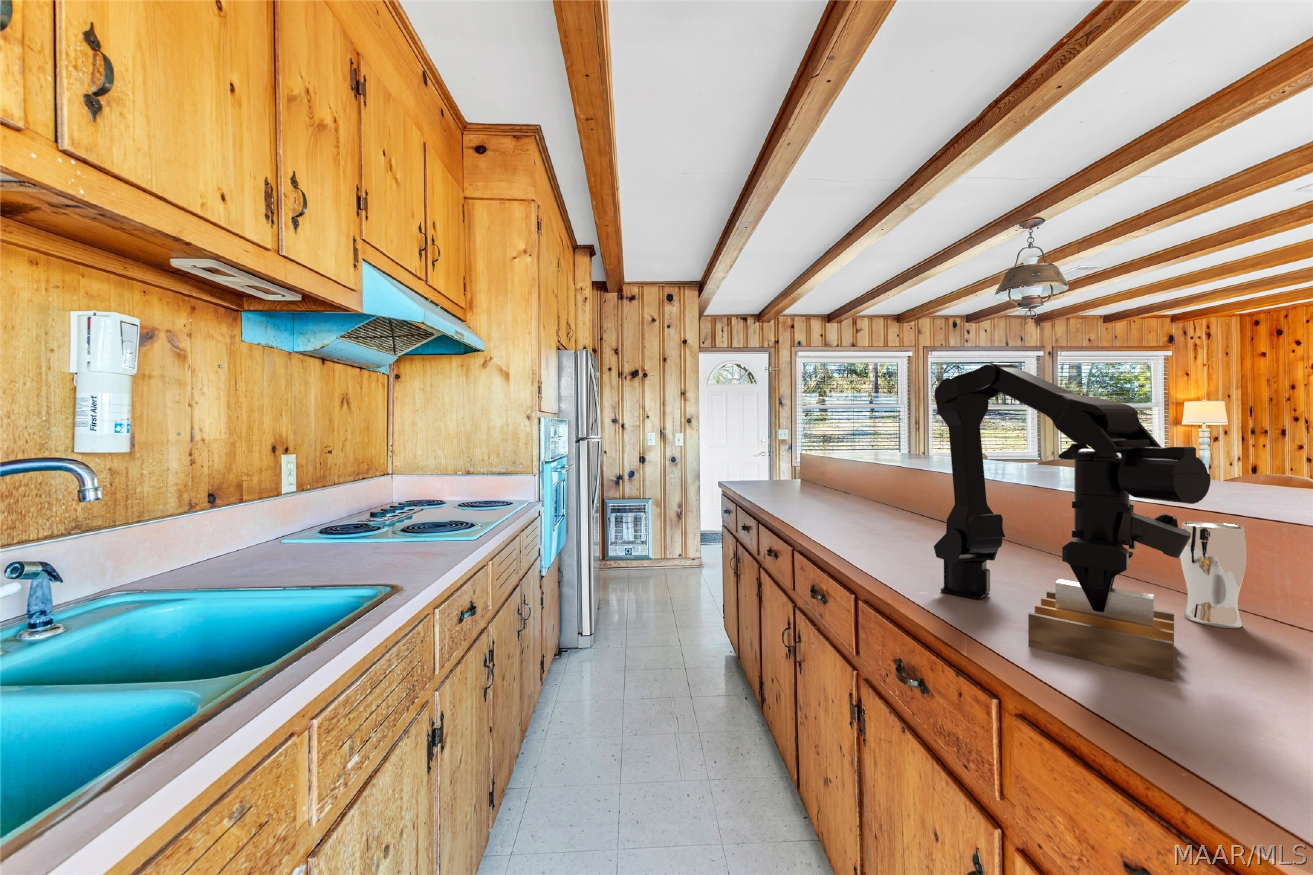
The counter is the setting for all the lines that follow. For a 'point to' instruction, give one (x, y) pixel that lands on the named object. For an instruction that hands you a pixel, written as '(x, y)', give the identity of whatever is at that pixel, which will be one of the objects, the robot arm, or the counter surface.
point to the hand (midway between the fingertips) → (1100, 606)
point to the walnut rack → (1104, 639)
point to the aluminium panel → (1107, 603)
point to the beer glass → (1214, 572)
